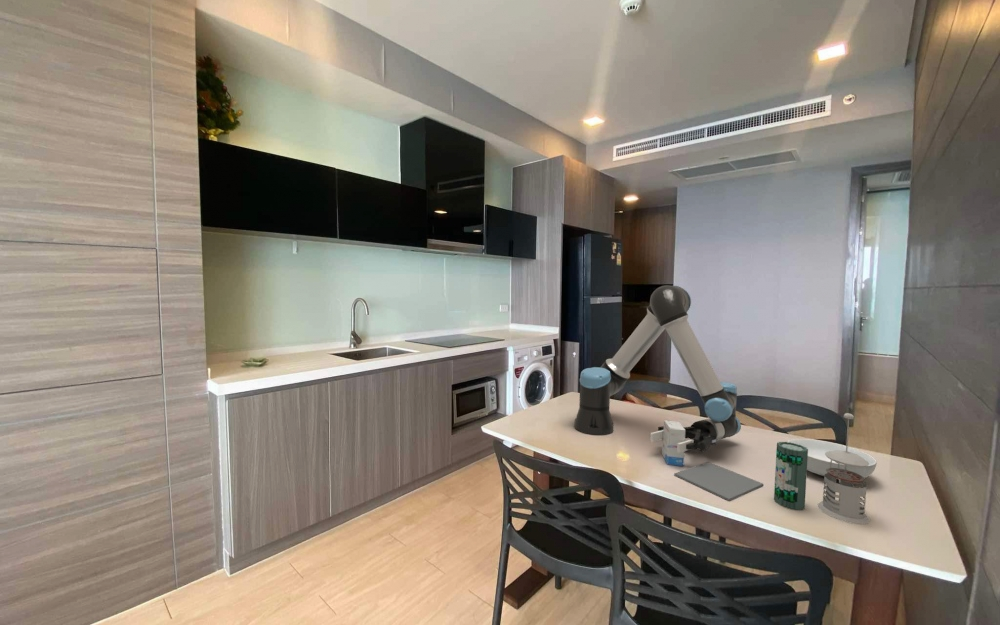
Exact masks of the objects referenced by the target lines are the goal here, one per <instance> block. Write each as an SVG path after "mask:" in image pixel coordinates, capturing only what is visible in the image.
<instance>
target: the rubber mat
mask: <svg viewBox="0 0 1000 625" xmlns="http://www.w3.org/2000/svg"><path fill="white" fill-rule="evenodd" d="M674 477H677V478H679V479H680V480H683V481H685V482H687V483H688V484H689V483H690V484H692V485H693V486H695V487H698V488H699V489H702V490H704V491H706V492H708V493H710V494H713V495H715V496H717V497H719V498H721V499H723V500H725V501H727V502H730V501H732V500H735V499H737V498H739V497H742V496H744V495H747V494H748V493H751V492H753V491H755V490H757V489H759V488H762V487H764V483H763V482H760V481H759V480H758V481H757V480H756V479H753V478H750V477H747V476H745V475H743V474H740V473H738V472H735V471H733V470H731V469H728V468H725V467H722V466H720V465H717V464H715V463H713V462H711V461H707V462H704V463H700V464H697V465H695V466H692V467H689V468H686V469H684V470H680V471H677V472H674Z"/></svg>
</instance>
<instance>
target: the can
mask: <svg viewBox="0 0 1000 625" xmlns="http://www.w3.org/2000/svg"><path fill="white" fill-rule="evenodd" d="M775 452H776V454H775V456H776V458H775V473H774V474H775V475H774V489H773V491H774V493H773V500H774V502H775V503H776V504H778V505H779V506H781V507H784V508H787V509H790V510H794V511H803V510H805V507H806V506H805V505H806V491H807V490H806V489H807V476H808V474H807V473H808V470H807V458H808V449H807V448H806V447H804V446H802V445H798V444H794V443H791V442H787V441H778V442H777V443H776V450H775Z"/></svg>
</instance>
